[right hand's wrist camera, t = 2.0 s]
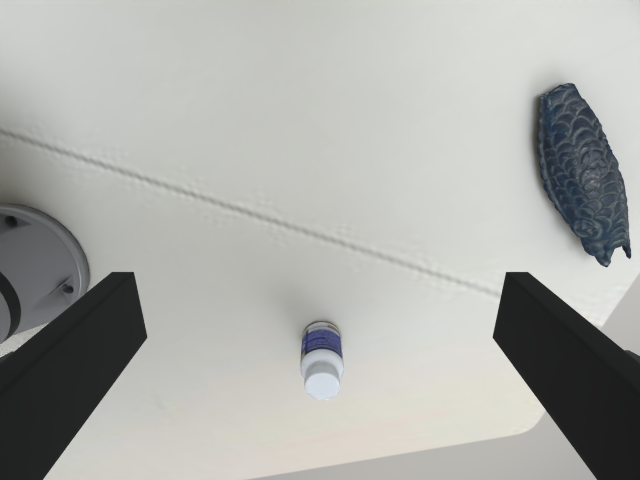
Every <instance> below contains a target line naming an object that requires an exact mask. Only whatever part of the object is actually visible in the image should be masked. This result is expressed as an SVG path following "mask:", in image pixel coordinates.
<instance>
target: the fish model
mask: <svg viewBox="0 0 640 480" xmlns="http://www.w3.org/2000/svg"><path fill="white" fill-rule="evenodd" d="M540 104H541V106H540V109H539V112H540V120H539V123H538V126H539V128H540V129H539V132H538V136H537V141H538V143H539V145H538V151H537V153H538V155H539V157H540V161H539V164H540V167H541V168H542V170H541V176H542V179H543V180H544V189H545V190H546V191H547V192H548V196H549V198H550V200H552V201H553V202H554V203H555V208H556V209H557V210H558V211H559V212H560V213H561V214H562V216H563V218H564V220H565V221H566V223H568V224H569V225H570V227H571V230H572V231H573V232H574V233H575V234H576V235H577V236H578V237H580V239H581V242H582V245H583V247H584V250H585V251H586V252H587V253H588V254H589V255H592V256H595V258H596V260H597V261H598V262H599V263H600V264H601V265H602V266H605V267H608V266H609V264H610V262H611V260H610V259H611V256H612V254H613V252H614V249H615V248H618V247H621V246H622V248H623V250H624V251H625V253H626V256H627V257H628V258H629V259H630V258H631V248H630V239H629V222H628V207H627V197H626V193H625V186H624V180H623V178H622V175H621V172H620V171H619V170H618V161H617V159H616V158H615V156H614V155H613V153H612V150H611V149H610V146H609V144H608V141H607V139H606V135H605V134H604V132H603V131H602V125H601V124H600V123H599V120H598V118H597V117H596V116H595V114H594V112H593V111H592V110H591V108H590V107H589V105H588V104H587V102H586V101H585V100H584V99H582V98H581V96H580V94H579V92H578V90H577V89H576V87H575V85H574V84H572V83H567V84H564V85H559V86H558V87H557V88H555V89H553V90H552V91H551V92H550V93H546V94H542V95H541V97H540Z"/></svg>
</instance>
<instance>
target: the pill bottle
mask: <svg viewBox="0 0 640 480" xmlns="http://www.w3.org/2000/svg"><path fill="white" fill-rule="evenodd" d="M300 370H301V375H302V377H303V378H304V380H305V390H306V392H307V394H308V395H309V396H311V397H312V398H314V399H317V400H327V399H330V398H332V397H334V396H335V395H336V394H337V393H338V392H339V389H340V379H341V377H342V375H343V372H344V362H343V352H342V339H341V334H340V331H339V330H338V329H337V328H336V327H335V326H334V325H332V324H330V323H326V322H318V323H314V324H312V325H310V326H309V327H308V328H307V329H306V330H305V331H304V333H303V338H302V349H301V364H300Z"/></svg>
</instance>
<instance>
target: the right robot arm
mask: <svg viewBox="0 0 640 480" xmlns="http://www.w3.org/2000/svg"><path fill="white" fill-rule="evenodd" d="M88 283H89V270H88V264H87V261H86V258H85V255H84V253H83V251H82V249H81V247H80V246H79V244H78V243H77V241H76V240H75V238H74V237H73V236H72V235H71V234H70V233H69V232H68V231H67V230H66V229H65V228H64V227H63V226H62V225H61V224H60V223H58V222H57V221H55V220H54V219H52V218H51V217H49V216H48V215H46V214H44V213H42V212H40V211H37V210H35V209H32V208H29V207H26V206H22V205H16V204H0V344H1V343H3V342H4V341H5V340H7V339H8V338H9V337H11V336H12V335H15V334H18V333H21V332H23V331H26V330H29V329H32V328H34V327H37V326H40V325H43V324H46V323H48V322H50V323H49V324H48V325H47V326H45V327H44V328H43V329H42V330H40V331H39V332H38V333H37V334H36V335H34V336H33V337H32V338H31V339H29V340H28V341H27V342H26V343H24V344H23V345H22V346H21V347H20V348H18V349H17V350H16V351H15V352H10V353H8V354H6V355H4V356H3V357H1V358H0V480H43V479H44V477H45V476H46V475H47V473H48V472H49V471H50V469H51V468H52V467H53V465H54V464H55V462H56V461H57V460H58V458H59V457H60V456H61V454H62V453H63V452H64V450H65V449H66V447H67V446H68V445H69V443H70V442H71V441H72V439H73V438H74V437H75V435H76V434H77V432H78V431H79V430H80V428H81V427H82V426H83V424H84V423H85V422H86V420H87V419H88V418H89V416H90V415H91V413H92V412H93V411H94V409H95V408H96V407H97V405H98V404H99V403H100V401H101V400H102V398H103V397H104V396H105V394H106V393H107V392H108V390H109V389H110V388H111V386H112V385H113V384H114V382H115V381H116V379H117V378H118V377H119V375H120V374H121V373H122V371H123V370H124V369H125V367H126V366H127V364H128V363H129V362H130V360H131V359H132V358H133V356H134V355H135V354H136V352H137V351H138V350H139V348H140V347H141V345H142V344H143V343H144V341H145V340H146V339H147V333H146V328H145V324H144V319H143V314H142V309H141V304H140V300H139V295H138V290H137V285H136V280H135V276H134V272H112V273H110V274H109V275H108V276H107V277H105V278H104V279H103V280H102V281H101V282H99V283H98V284H97V285H96V286H94V287H93V288H92V289H91V290H89V291H88V292H87V293H86V290H87V287H88ZM85 293H86V294H85ZM493 339H494V340H495V341H496V343H497V344H498V345H499V347H500V348H501V350H502V351H503V352H504V354H505V355H506V356H507V358H508V359H509V360H510V362H511V363H512V364H513V366H514V367H515V369H516V370H517V371H518V373H519V374H520V375H521V377H522V378H523V379H524V381H525V382H526V384H527V385H528V386H529V388H530V389H531V390H532V392H533V393H534V394H535V396H536V397H537V398H538V400H539V401H540V403H541V404H542V405H543V407H544V408H545V409H546V411H547V412H548V413H549V415H550V416H551V418H552V419H553V420H554V422H555V423H556V424H557V426H558V427H559V428H560V430H561V431H562V432H563V434H564V435H565V437H566V438H567V439H568V441H569V442H570V443H571V445H572V446H573V447H574V449H575V450H576V452H577V453H578V454H579V456H580V457H581V458H582V460H583V461H584V462H585V464H586V465H587V467H588V468H589V469H590V471H591V472H592V473H593V475H594V476H595V477H596V479H597V480H640V356H638V355H637V354H635V353H633V352H631V351H629V350H623V349H622V348H620V347H619V346H618V345H617V344H616V343H614V342H613V341H612V340H611V339H609V338H608V337H607V336H606V335H604V334H603V333H602V332H601V331H600V330H598V329H597V328H596V327H595V326H593V325H592V324H591V323H590V322H589V321H587V320H586V319H585V318H584V317H582V316H581V315H580V314H579V313H578V312H576V311H575V310H574V309H573V308H571V307H570V306H569V305H568V304H566V303H565V302H564V301H563V300H562V299H560V298H559V297H558V296H557V295H555V294H554V293H553V292H552V291H551V290H549V289H548V288H547V287H546V286H544V285H543V284H542V283H541V282H539V281H538V280H537V279H536V278H535V277H533V276H532V275H531V274H530V273H528V272H506V276H505V280H504V285H503V290H502V295H501V300H500V304H499V309H498V314H497V319H496V324H495V328H494V333H493Z"/></svg>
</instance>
